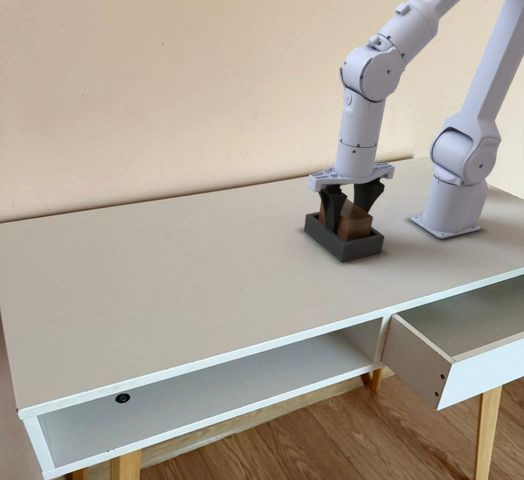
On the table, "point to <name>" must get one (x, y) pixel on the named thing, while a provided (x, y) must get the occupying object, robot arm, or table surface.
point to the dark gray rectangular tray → (338, 245)
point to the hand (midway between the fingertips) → (344, 226)
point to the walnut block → (351, 222)
